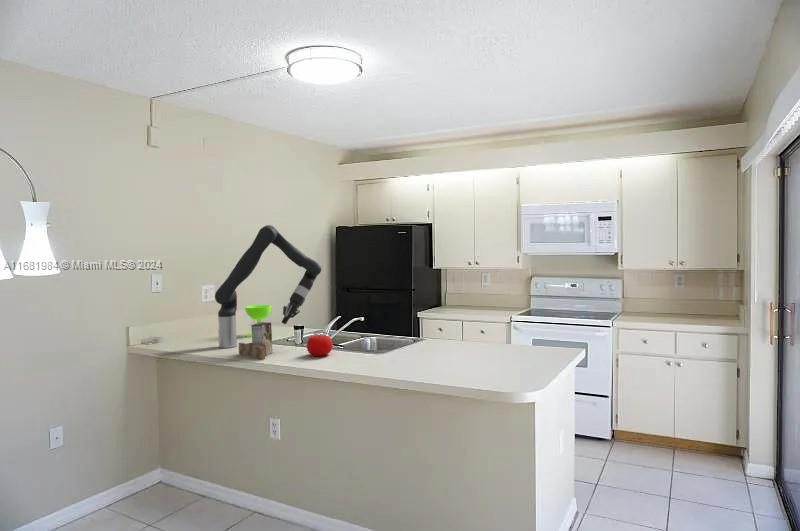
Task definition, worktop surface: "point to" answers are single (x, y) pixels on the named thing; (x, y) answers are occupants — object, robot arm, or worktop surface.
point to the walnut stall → (252, 350)
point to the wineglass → (258, 313)
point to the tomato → (319, 345)
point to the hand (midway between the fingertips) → (283, 323)
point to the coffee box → (262, 335)
